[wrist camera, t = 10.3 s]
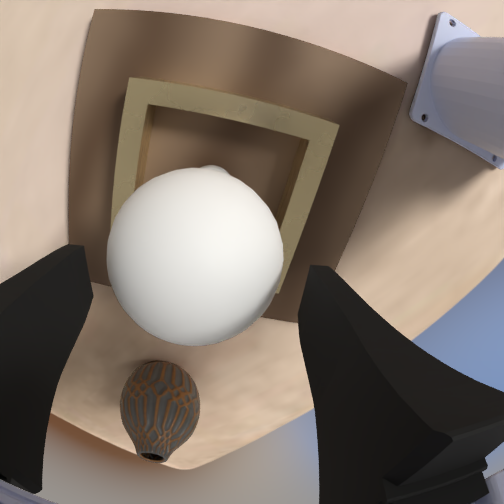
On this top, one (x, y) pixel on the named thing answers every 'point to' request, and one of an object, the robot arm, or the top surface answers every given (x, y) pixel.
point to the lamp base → (228, 126)
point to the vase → (159, 409)
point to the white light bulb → (194, 256)
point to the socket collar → (234, 108)
